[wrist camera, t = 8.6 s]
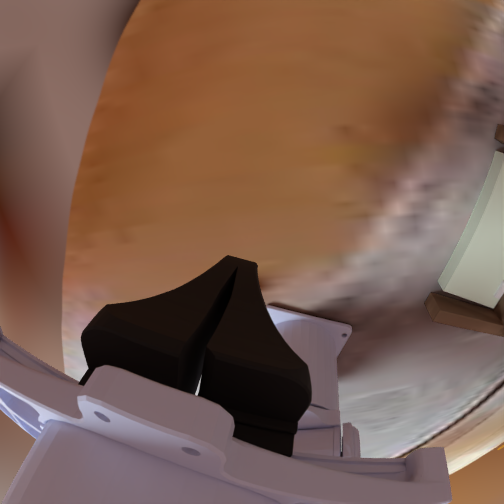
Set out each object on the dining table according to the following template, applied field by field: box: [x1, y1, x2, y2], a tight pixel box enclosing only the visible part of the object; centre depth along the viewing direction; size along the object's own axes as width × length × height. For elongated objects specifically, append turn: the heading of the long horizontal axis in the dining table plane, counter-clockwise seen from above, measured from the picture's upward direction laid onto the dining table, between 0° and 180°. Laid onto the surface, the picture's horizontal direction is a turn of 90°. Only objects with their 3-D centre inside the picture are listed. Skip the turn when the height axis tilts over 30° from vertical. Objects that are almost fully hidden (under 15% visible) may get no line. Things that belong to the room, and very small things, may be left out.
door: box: [438, 151, 504, 309], centre depth 18 cm, size 12×7×2 cm, turn 166°
